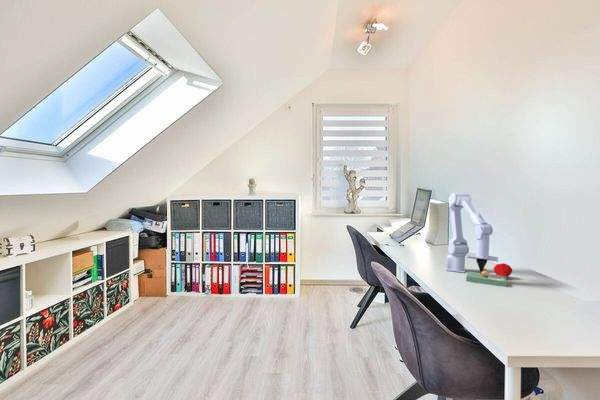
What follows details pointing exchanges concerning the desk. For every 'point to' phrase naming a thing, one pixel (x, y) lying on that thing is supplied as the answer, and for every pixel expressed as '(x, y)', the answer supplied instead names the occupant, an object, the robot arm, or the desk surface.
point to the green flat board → (487, 279)
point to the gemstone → (503, 269)
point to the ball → (485, 272)
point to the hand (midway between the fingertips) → (481, 273)
